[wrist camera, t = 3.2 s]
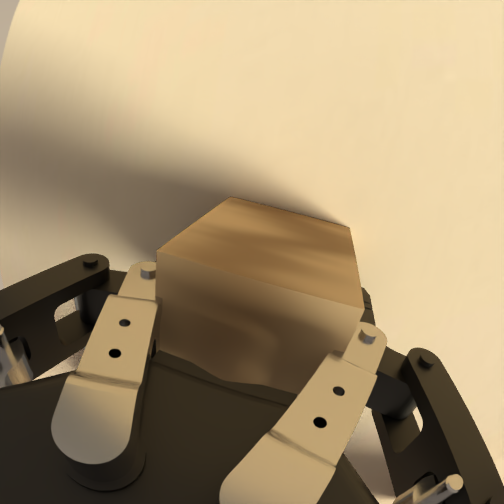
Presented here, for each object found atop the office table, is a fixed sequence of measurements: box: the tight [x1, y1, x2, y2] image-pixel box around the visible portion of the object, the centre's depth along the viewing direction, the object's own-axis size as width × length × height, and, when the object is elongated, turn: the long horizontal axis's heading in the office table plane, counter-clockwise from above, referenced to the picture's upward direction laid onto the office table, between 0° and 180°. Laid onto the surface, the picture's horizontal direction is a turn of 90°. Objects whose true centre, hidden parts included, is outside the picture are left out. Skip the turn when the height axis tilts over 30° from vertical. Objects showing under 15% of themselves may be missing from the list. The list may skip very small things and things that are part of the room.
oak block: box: [155, 197, 365, 397], centre depth 10 cm, size 5×5×6 cm
